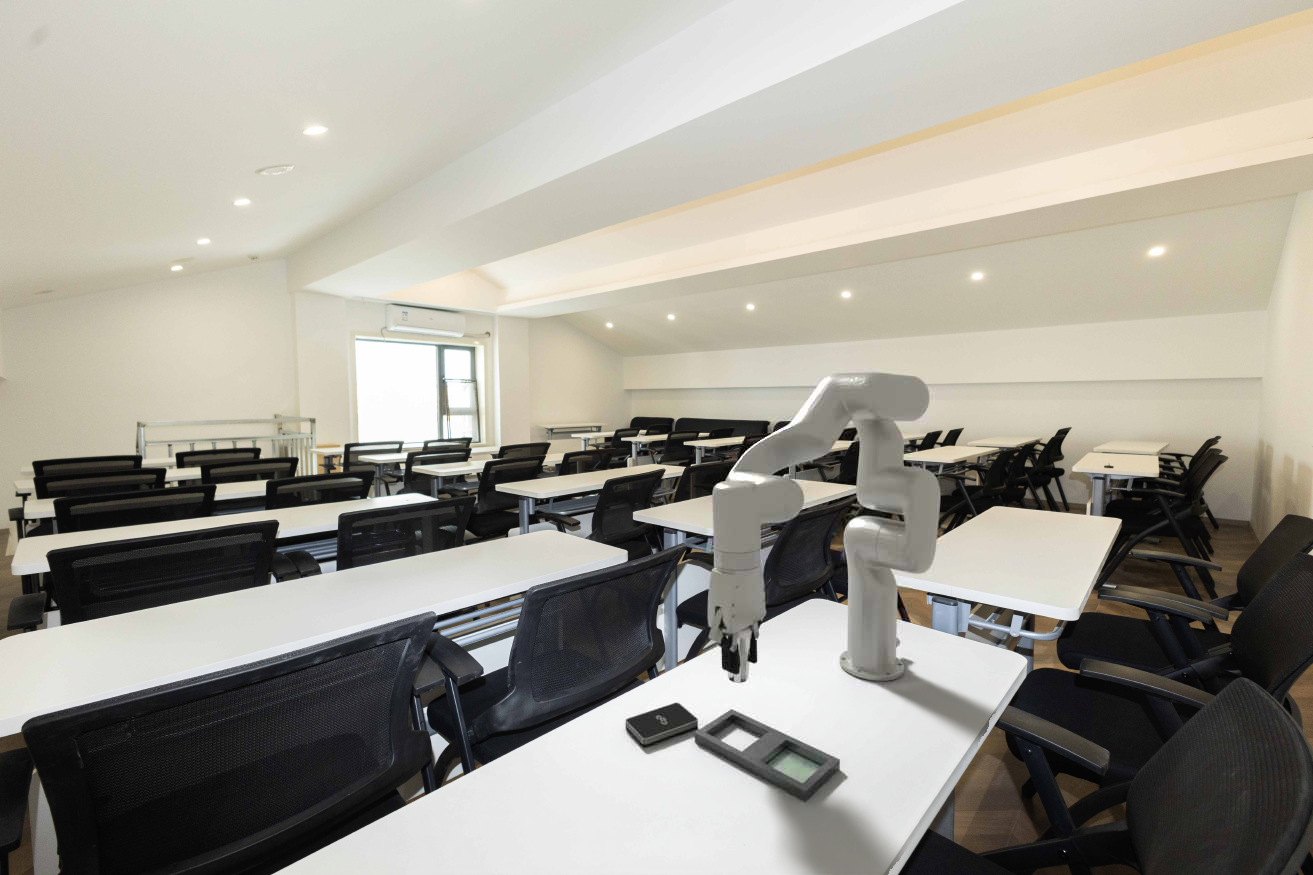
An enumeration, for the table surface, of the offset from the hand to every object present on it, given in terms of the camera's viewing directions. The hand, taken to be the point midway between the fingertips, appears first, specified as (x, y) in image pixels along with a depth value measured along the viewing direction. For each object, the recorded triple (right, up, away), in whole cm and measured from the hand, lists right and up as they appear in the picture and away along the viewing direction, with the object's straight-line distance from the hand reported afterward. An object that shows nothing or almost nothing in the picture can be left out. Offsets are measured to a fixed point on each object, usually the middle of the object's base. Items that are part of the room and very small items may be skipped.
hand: (739, 664), depth 97 cm
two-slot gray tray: (+4, -13, -3) cm, 14 cm away
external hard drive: (-13, -13, +5) cm, 19 cm away
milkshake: (0, -3, 0) cm, 3 cm away
